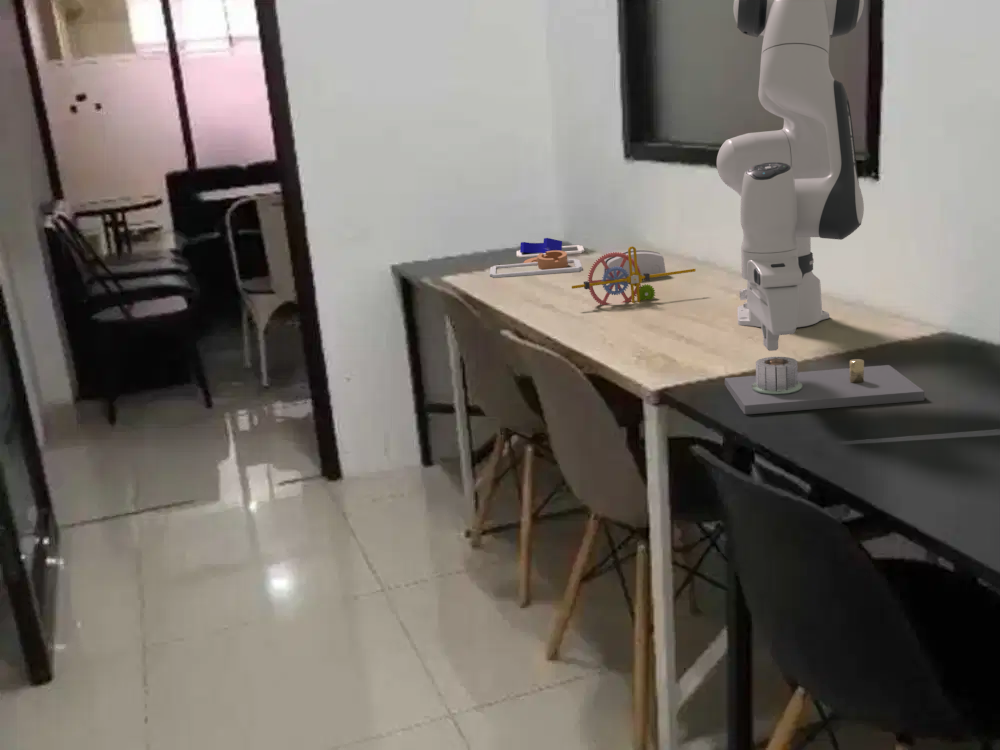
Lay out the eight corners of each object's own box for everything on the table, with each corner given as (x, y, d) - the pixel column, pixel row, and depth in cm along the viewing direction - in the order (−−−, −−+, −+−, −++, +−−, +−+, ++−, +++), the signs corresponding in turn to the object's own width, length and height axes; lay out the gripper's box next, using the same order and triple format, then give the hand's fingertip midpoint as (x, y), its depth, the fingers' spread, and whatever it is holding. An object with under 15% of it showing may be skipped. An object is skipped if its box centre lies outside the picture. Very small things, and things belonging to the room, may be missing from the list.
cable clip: (534, 260, 322) (519, 257, 318) (535, 245, 322) (520, 242, 318) (561, 256, 312) (546, 252, 308) (562, 241, 313) (547, 237, 309)
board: (724, 386, 181) (724, 378, 180) (888, 373, 180) (888, 365, 179) (744, 414, 165) (744, 405, 165) (924, 400, 164) (924, 391, 164)
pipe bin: (491, 279, 300) (490, 265, 299) (579, 272, 299) (578, 258, 298) (490, 289, 286) (489, 275, 284) (583, 282, 285) (582, 267, 284)
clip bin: (517, 263, 325) (516, 250, 323) (582, 257, 324) (581, 244, 323) (517, 269, 313) (516, 256, 312) (585, 264, 312) (584, 250, 311)
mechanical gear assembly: (575, 318, 242) (570, 254, 238) (570, 315, 246) (565, 252, 242) (697, 302, 247) (695, 239, 243) (691, 299, 251) (688, 237, 247)
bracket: (574, 278, 293) (572, 254, 290) (548, 285, 290) (545, 261, 287) (544, 263, 308) (542, 241, 306) (519, 270, 305) (517, 247, 303)
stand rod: (847, 380, 173) (847, 359, 172) (861, 379, 173) (861, 358, 172) (852, 383, 171) (852, 363, 170) (865, 382, 171) (865, 362, 170)
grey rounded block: (662, 281, 276) (661, 244, 272) (667, 286, 271) (667, 249, 268) (600, 289, 273) (599, 252, 270) (605, 294, 269) (604, 256, 265)
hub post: (747, 383, 176) (746, 360, 175) (795, 379, 176) (794, 356, 175) (758, 396, 169) (757, 373, 168) (808, 392, 168) (807, 369, 167)
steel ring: (753, 381, 175) (752, 358, 174) (791, 378, 175) (791, 355, 174) (761, 392, 169) (761, 368, 168) (801, 389, 169) (801, 365, 168)
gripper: (737, 256, 180) (738, 334, 184) (763, 279, 160) (765, 366, 164) (774, 253, 180) (775, 331, 183) (805, 276, 160) (805, 363, 164)
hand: (770, 348), depth 174 cm, fingers closed
